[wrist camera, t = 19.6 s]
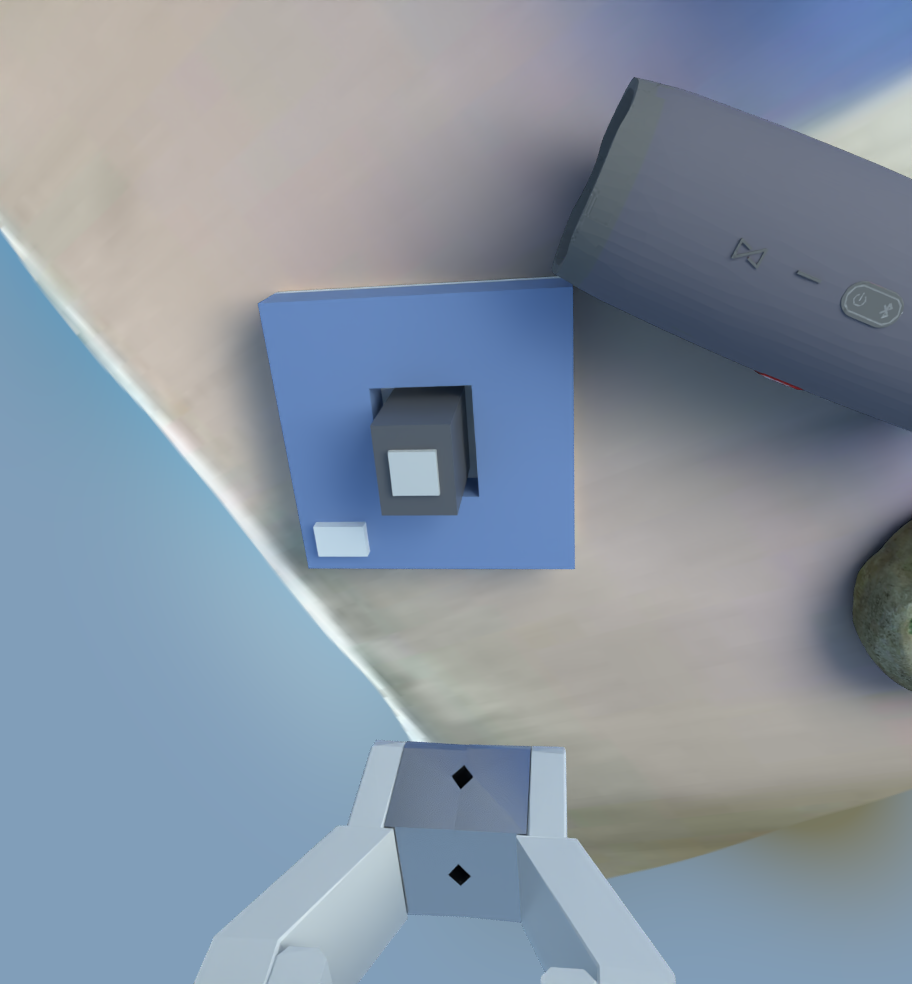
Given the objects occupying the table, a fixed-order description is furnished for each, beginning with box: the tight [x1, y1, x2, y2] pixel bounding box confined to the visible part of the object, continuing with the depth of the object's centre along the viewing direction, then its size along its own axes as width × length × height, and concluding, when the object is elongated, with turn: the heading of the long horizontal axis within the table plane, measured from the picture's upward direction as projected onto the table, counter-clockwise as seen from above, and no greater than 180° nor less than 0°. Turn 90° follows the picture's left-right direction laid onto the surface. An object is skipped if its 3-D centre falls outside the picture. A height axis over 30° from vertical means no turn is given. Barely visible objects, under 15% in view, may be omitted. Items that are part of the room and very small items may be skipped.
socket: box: [258, 276, 575, 569], centre depth 41 cm, size 16×16×4 cm
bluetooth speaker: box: [552, 77, 912, 431], centre depth 32 cm, size 23×9×10 cm, turn 69°
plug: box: [370, 386, 470, 516], centre depth 39 cm, size 5×4×6 cm
